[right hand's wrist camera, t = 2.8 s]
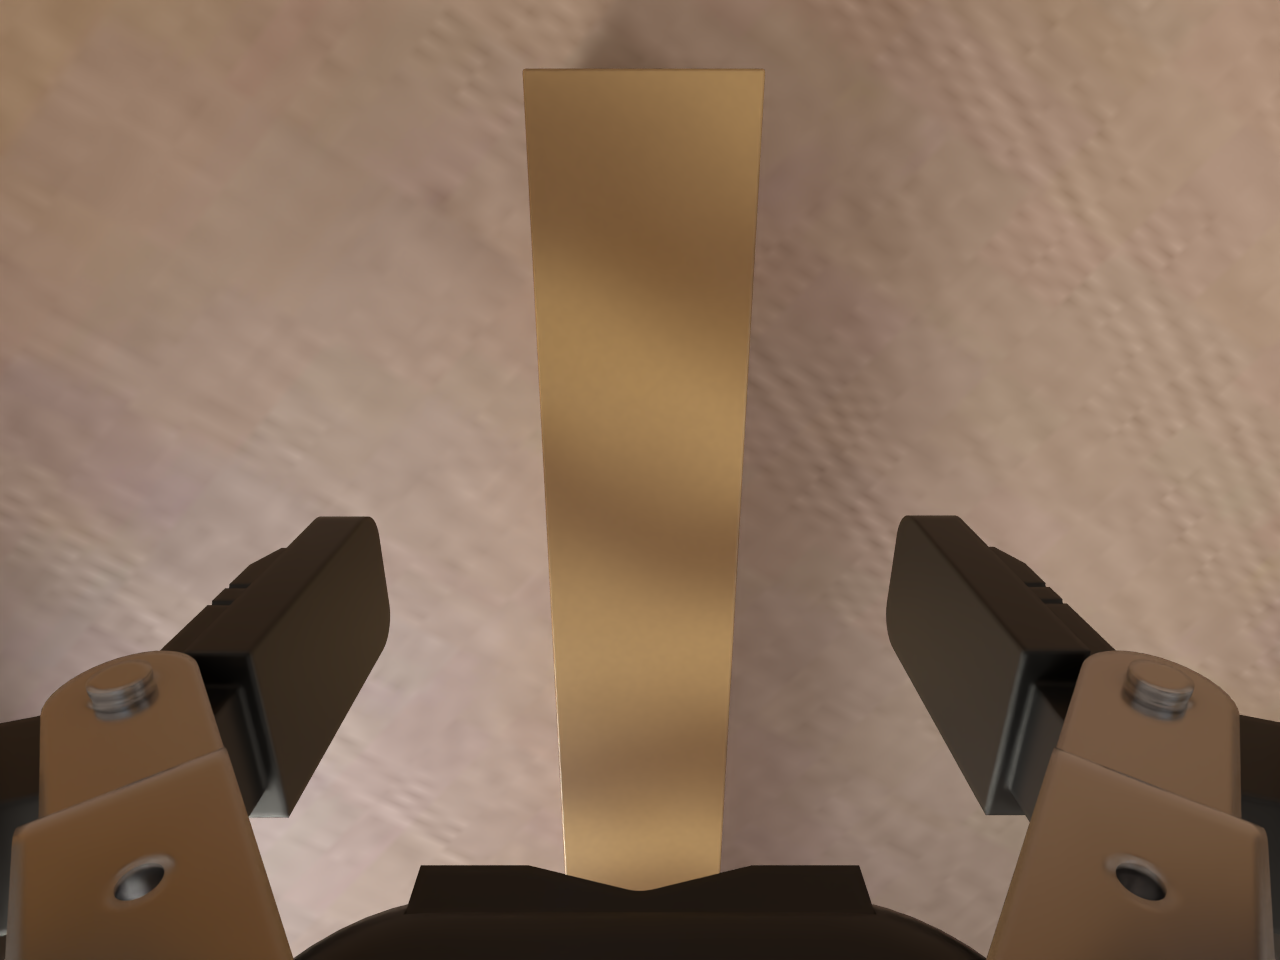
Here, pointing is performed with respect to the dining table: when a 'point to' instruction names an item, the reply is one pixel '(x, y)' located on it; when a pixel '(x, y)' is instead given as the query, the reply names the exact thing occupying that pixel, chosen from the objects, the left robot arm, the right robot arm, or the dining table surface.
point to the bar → (643, 445)
